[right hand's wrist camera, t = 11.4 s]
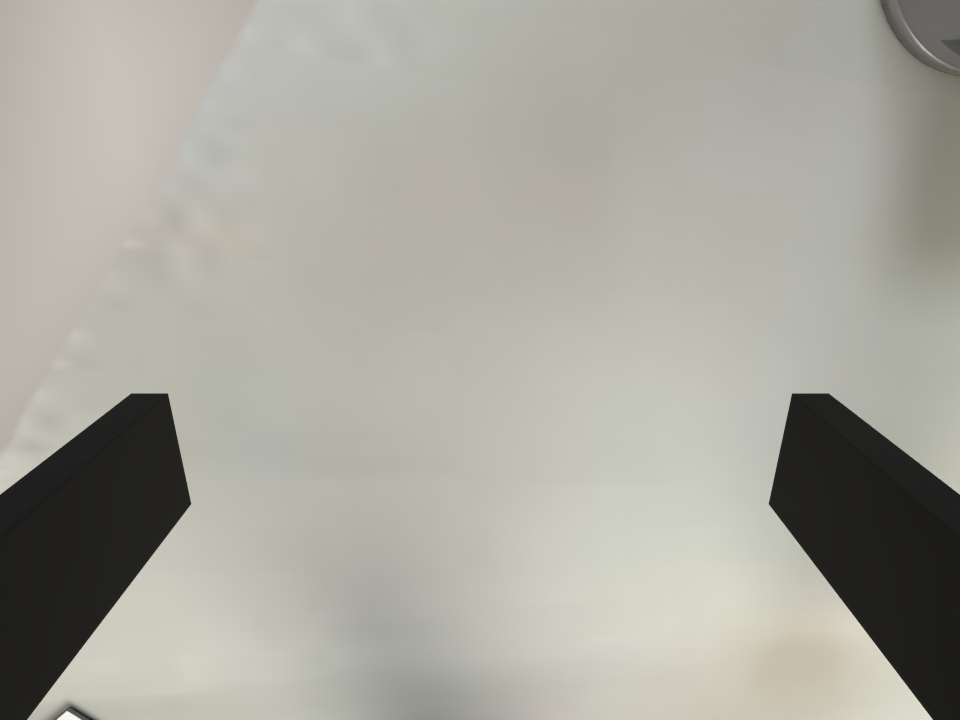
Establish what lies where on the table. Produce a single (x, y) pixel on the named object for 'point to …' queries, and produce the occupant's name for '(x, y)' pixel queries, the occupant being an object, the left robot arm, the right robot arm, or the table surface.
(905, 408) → the table surface
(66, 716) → the tablet
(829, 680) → the table surface
